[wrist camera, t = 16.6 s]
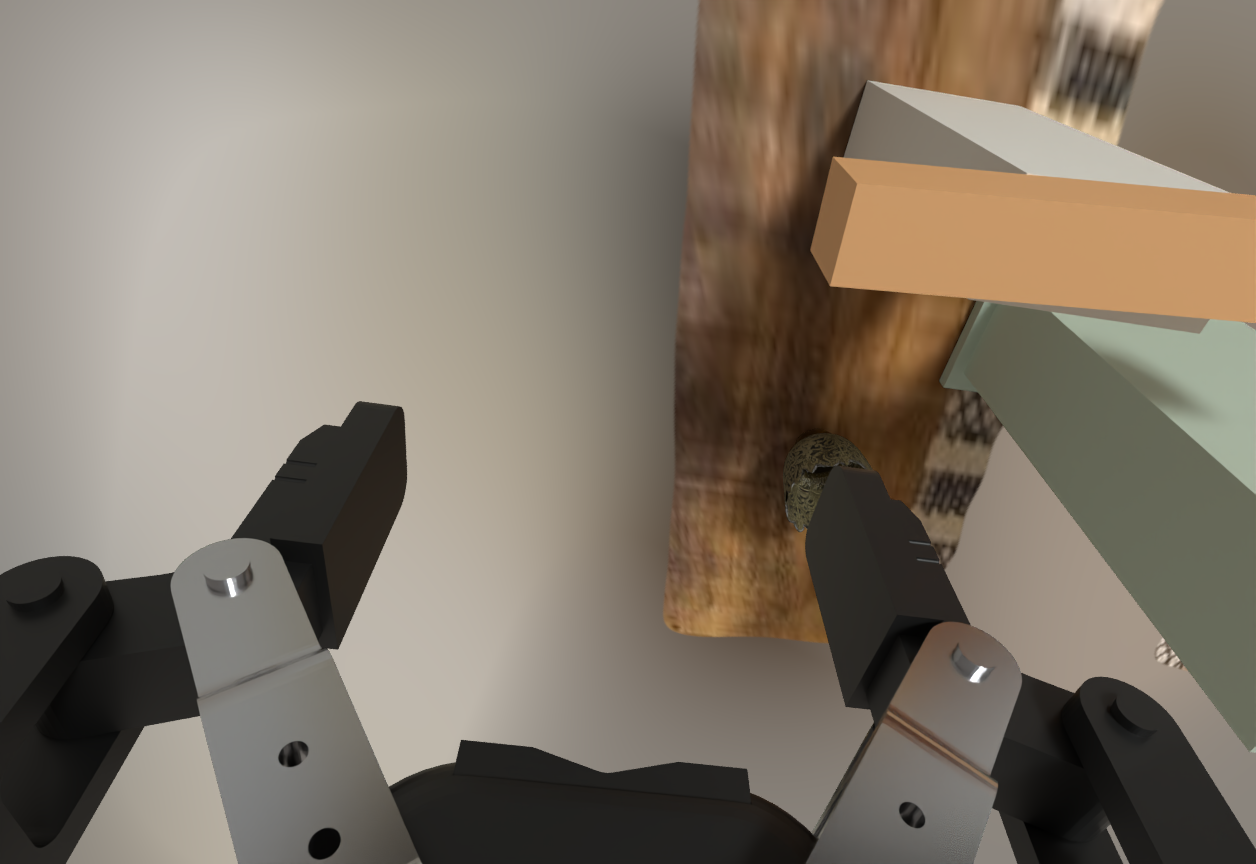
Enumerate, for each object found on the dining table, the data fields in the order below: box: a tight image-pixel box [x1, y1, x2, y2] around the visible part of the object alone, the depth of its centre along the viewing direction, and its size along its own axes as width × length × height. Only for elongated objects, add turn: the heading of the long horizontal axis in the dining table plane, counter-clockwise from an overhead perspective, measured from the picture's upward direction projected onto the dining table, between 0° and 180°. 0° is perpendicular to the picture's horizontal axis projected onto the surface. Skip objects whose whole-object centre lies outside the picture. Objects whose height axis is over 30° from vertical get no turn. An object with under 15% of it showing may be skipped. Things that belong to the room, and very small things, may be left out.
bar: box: [810, 157, 1256, 323], centre depth 25 cm, size 4×26×4 cm, turn 85°
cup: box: [783, 429, 873, 532], centre depth 56 cm, size 8×7×8 cm
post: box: [843, 80, 1229, 334], centre depth 36 cm, size 5×10×22 cm, turn 82°
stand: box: [939, 301, 1256, 752], centre depth 40 cm, size 11×18×32 cm, turn 82°
